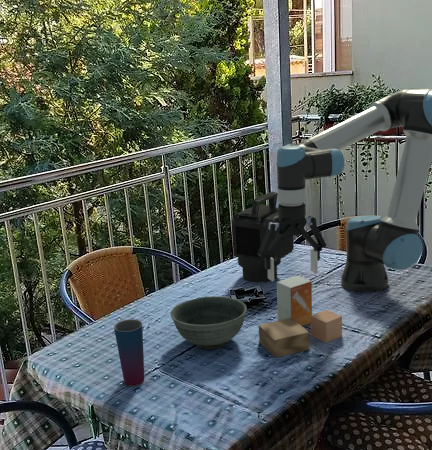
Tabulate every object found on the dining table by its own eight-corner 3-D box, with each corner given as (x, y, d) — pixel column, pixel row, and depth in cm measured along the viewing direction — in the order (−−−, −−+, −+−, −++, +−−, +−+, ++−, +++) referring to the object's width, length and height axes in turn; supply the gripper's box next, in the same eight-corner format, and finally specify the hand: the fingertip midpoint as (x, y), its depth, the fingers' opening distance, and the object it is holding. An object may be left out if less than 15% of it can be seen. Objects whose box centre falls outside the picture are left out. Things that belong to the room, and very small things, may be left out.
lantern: (253, 266, 219) (249, 188, 211) (296, 274, 209) (293, 192, 201) (230, 280, 207) (225, 197, 199) (274, 289, 197) (271, 202, 189)
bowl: (193, 368, 150) (190, 332, 147) (161, 337, 168) (158, 305, 165) (262, 346, 159) (261, 312, 156) (225, 319, 177) (223, 288, 174)
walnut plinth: (292, 334, 165) (291, 317, 163) (309, 349, 155) (309, 332, 154) (259, 341, 161) (258, 324, 160) (275, 357, 152) (274, 340, 151)
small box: (291, 330, 167) (290, 287, 163) (277, 323, 172) (275, 281, 168) (313, 322, 171) (312, 280, 167) (298, 315, 176) (297, 274, 172)
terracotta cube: (326, 329, 166) (326, 309, 165) (342, 336, 162) (342, 316, 160) (310, 335, 163) (310, 315, 162) (326, 343, 158) (326, 322, 157)
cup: (121, 375, 149) (115, 320, 145) (148, 372, 149) (142, 318, 145) (119, 389, 142) (112, 332, 138) (147, 386, 143) (141, 330, 139)
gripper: (324, 194, 169) (324, 264, 174) (244, 205, 161) (247, 278, 167) (338, 199, 162) (338, 272, 168) (255, 211, 154) (257, 287, 160)
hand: (292, 275), depth 167 cm, fingers open, 13 cm apart
